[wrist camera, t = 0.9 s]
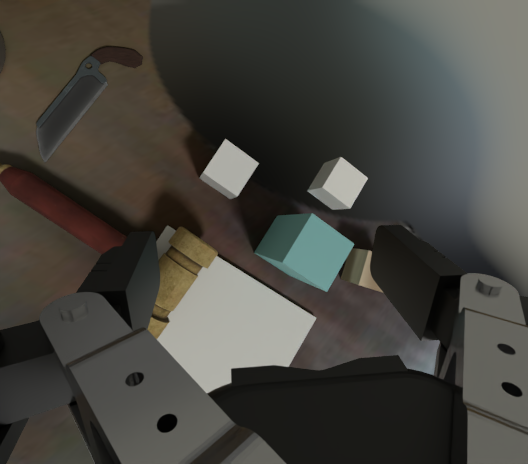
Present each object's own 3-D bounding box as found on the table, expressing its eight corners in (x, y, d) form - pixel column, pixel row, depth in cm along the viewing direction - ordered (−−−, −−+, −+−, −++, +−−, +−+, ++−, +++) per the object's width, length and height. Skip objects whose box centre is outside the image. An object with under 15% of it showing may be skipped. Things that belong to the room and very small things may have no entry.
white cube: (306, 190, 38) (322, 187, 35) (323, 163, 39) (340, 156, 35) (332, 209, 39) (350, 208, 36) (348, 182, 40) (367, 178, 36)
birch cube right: (340, 278, 40) (358, 284, 36) (349, 247, 40) (368, 250, 36) (367, 287, 41) (387, 294, 37) (376, 256, 41) (397, 260, 37)
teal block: (254, 252, 37) (282, 262, 28) (277, 215, 37) (312, 213, 28) (288, 275, 38) (326, 291, 29) (310, 239, 39) (354, 244, 29)
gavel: (-73, 204, 26) (13, 108, 27) (-33, 210, 30) (39, 127, 32) (153, 346, 29) (220, 253, 30) (159, 332, 33) (217, 251, 34)
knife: (110, 33, 32) (109, 29, 32) (145, 60, 33) (145, 57, 33) (18, 144, 30) (14, 142, 30) (58, 170, 31) (56, 169, 31)
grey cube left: (199, 178, 35) (202, 172, 31) (219, 147, 35) (225, 138, 32) (230, 199, 36) (237, 196, 32) (249, 169, 36) (258, 163, 33)
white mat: (87, 344, 32) (85, 346, 32) (167, 225, 34) (167, 225, 33) (252, 424, 37) (253, 427, 37) (314, 316, 39) (316, 317, 38)
